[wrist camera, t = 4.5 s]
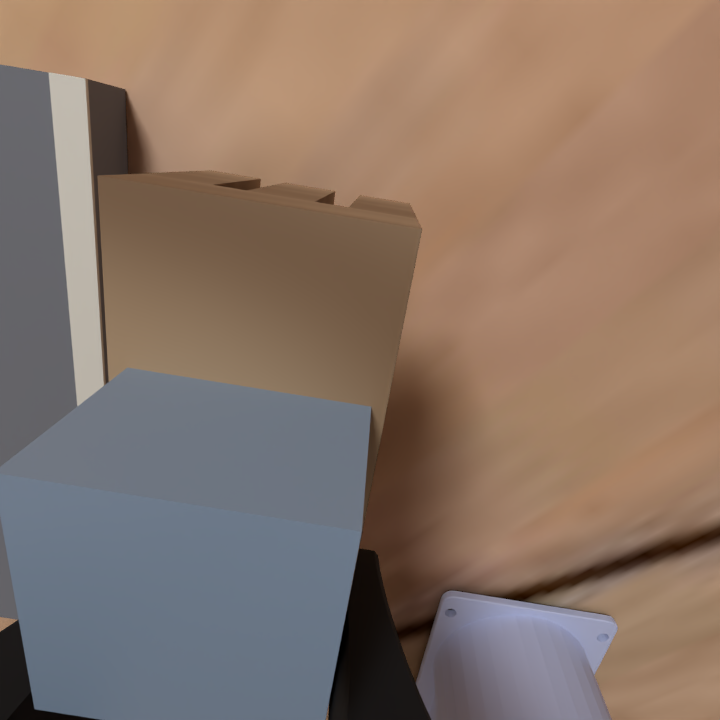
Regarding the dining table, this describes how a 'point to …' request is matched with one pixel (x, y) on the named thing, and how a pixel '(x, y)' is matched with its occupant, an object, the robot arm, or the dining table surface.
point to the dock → (51, 253)
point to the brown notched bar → (257, 286)
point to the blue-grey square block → (186, 550)
